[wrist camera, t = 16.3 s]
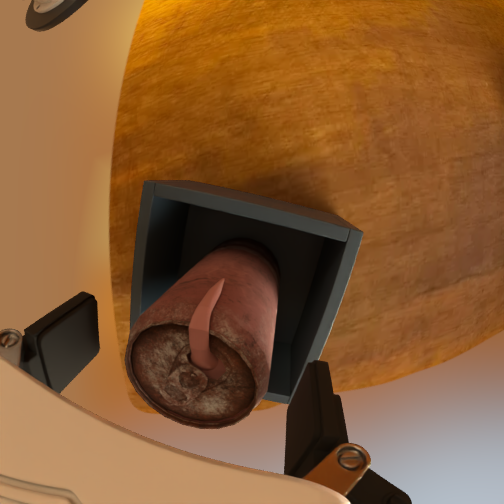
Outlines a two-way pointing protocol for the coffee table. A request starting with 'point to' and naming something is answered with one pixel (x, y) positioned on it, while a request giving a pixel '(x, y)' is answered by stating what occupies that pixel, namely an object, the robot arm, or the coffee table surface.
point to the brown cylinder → (209, 338)
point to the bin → (263, 231)
